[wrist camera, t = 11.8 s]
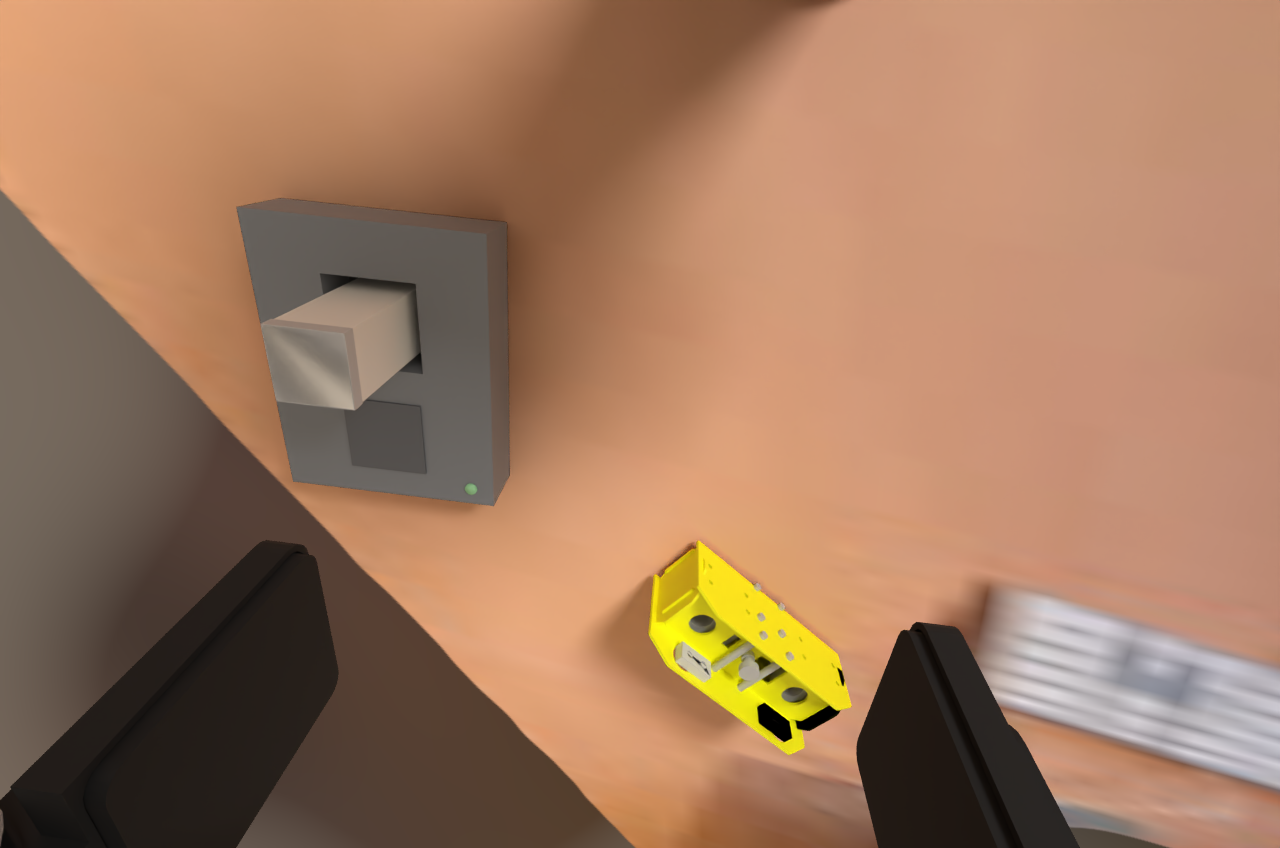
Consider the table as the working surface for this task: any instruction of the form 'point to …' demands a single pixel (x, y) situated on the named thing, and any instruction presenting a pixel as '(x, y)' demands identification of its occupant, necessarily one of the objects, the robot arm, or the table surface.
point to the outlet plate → (427, 385)
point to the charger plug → (343, 343)
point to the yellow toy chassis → (744, 649)
